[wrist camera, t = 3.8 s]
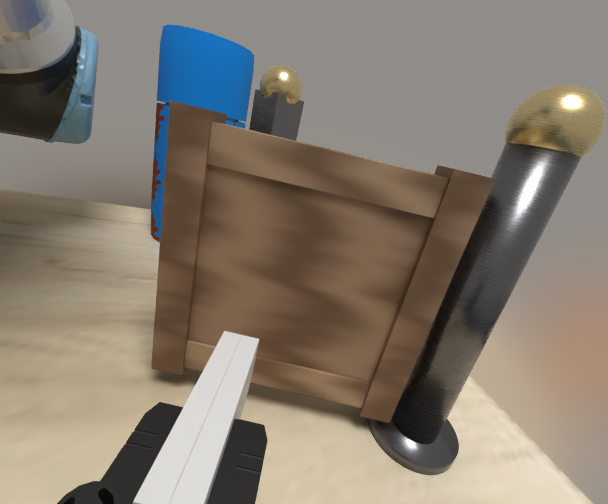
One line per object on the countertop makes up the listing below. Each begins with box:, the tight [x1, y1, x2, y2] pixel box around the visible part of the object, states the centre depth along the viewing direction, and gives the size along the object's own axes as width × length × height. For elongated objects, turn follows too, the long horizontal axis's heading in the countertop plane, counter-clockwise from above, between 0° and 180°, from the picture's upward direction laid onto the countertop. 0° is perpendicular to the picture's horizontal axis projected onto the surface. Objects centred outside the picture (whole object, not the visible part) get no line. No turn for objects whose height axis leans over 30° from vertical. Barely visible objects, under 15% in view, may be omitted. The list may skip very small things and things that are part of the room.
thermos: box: [151, 25, 254, 242], centre depth 42 cm, size 11×11×25 cm
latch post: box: [249, 65, 304, 141], centre depth 30 cm, size 6×6×22 cm
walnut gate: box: [152, 100, 495, 423], centre depth 19 cm, size 16×2×16 cm, turn 86°
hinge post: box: [368, 84, 606, 475], centre depth 18 cm, size 6×6×22 cm
